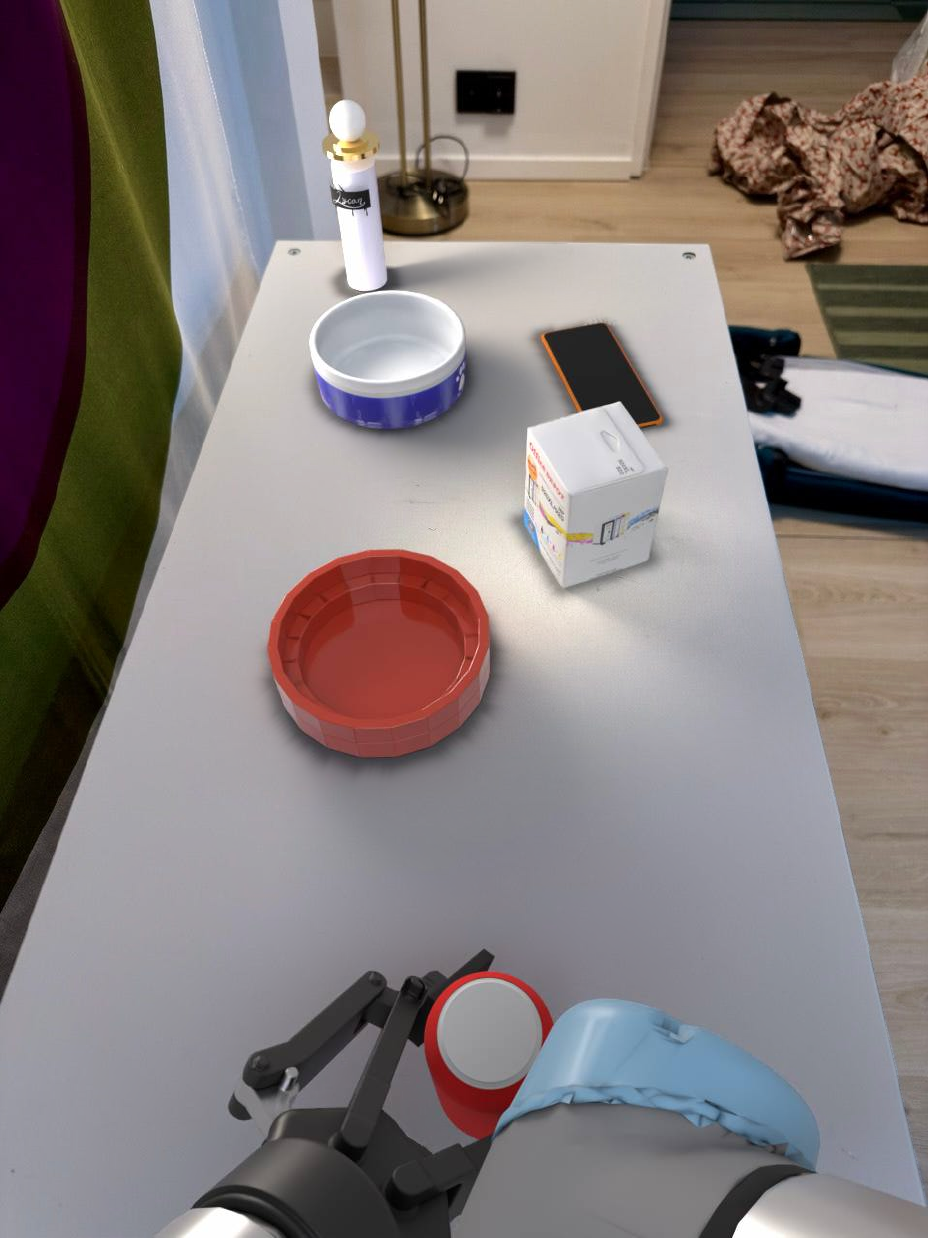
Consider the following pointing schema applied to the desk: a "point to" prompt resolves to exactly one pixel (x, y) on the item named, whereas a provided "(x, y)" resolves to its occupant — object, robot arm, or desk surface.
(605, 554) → the ink box
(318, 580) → the red bowl
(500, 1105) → the beverage can
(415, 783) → the desk surface
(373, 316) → the dog bowl
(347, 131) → the perfume bottle
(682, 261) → the desk surface
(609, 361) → the smartphone
